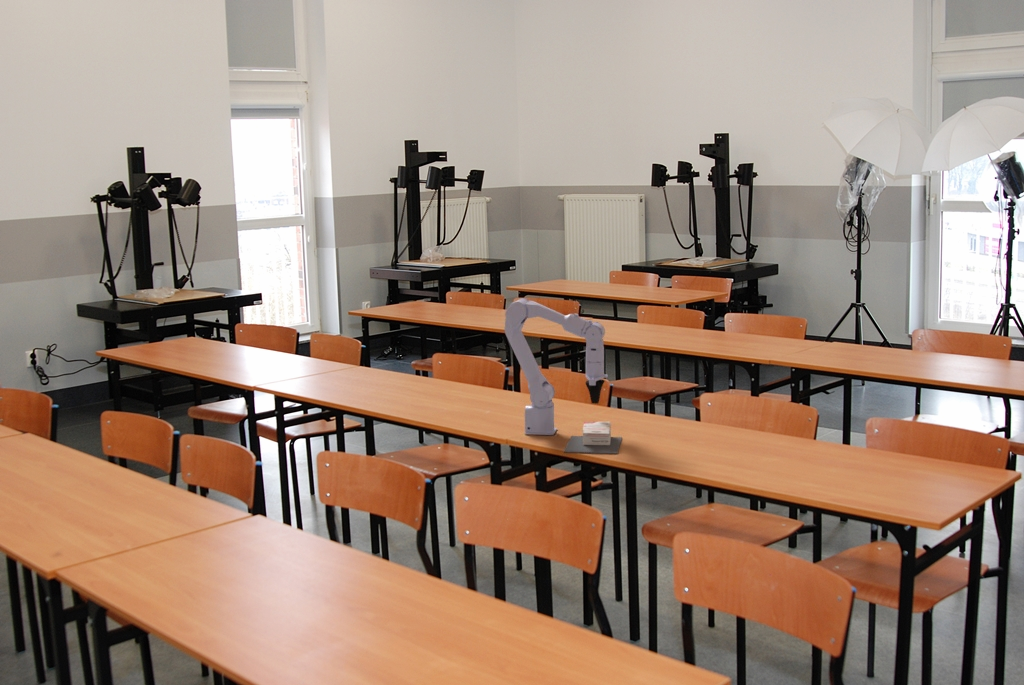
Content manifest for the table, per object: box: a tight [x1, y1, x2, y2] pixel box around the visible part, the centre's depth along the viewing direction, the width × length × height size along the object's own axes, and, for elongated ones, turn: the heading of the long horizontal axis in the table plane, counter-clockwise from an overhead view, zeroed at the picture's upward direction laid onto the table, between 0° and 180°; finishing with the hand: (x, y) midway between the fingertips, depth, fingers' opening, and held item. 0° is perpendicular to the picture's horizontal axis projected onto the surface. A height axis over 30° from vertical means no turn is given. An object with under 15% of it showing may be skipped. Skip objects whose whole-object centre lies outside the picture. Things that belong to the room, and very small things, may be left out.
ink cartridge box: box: [582, 421, 612, 445], centre depth 305 cm, size 9×5×15 cm
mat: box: [563, 435, 623, 455], centre depth 303 cm, size 16×18×1 cm
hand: (595, 403), depth 314 cm, fingers closed
